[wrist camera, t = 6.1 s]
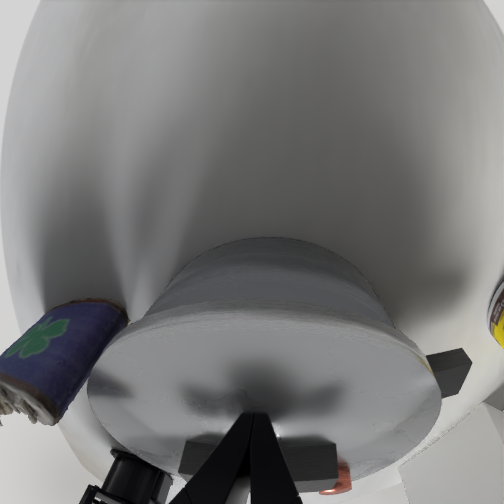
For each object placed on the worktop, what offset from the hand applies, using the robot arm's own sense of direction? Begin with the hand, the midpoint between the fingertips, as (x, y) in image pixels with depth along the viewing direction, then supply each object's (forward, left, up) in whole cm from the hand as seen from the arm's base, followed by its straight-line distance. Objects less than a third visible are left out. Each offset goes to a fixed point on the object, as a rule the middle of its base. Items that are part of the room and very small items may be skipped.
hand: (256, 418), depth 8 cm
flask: (-13, -2, -8) cm, 16 cm away
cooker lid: (0, -3, -2) cm, 4 cm away
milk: (+22, -22, -8) cm, 32 cm away
